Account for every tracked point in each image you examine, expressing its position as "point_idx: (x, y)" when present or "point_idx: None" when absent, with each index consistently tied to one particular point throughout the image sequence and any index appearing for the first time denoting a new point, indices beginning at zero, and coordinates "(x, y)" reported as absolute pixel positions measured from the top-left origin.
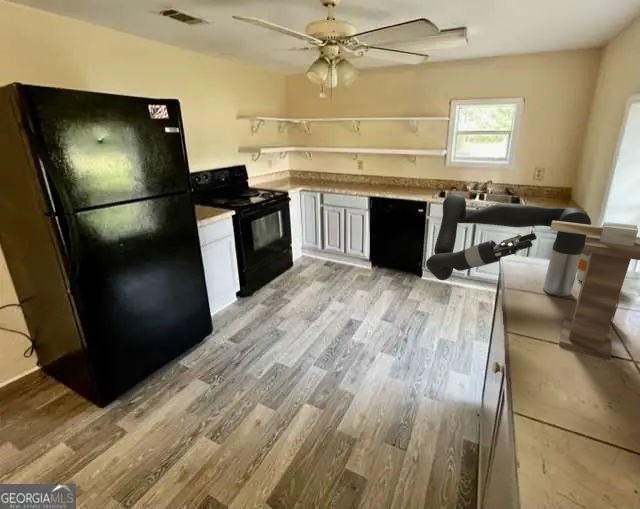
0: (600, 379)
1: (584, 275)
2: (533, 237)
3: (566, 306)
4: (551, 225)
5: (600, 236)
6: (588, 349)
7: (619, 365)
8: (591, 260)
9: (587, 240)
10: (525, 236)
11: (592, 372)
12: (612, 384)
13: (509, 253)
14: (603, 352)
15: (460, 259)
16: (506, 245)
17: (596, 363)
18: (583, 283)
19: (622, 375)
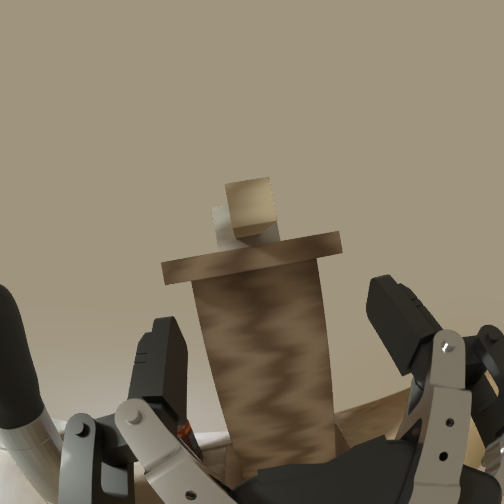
0: (398, 414)
1: (236, 381)
2: (181, 347)
3: (150, 500)
4: (272, 194)
5: (260, 234)
6: (345, 441)
7: (338, 421)
8: (319, 285)
9: (291, 239)
10: (168, 372)
11: (392, 423)
12: (394, 407)
13: (486, 390)
14: (335, 430)
15: None
16: (462, 421)
17: (363, 432)
18: (302, 369)
19: (362, 412)
